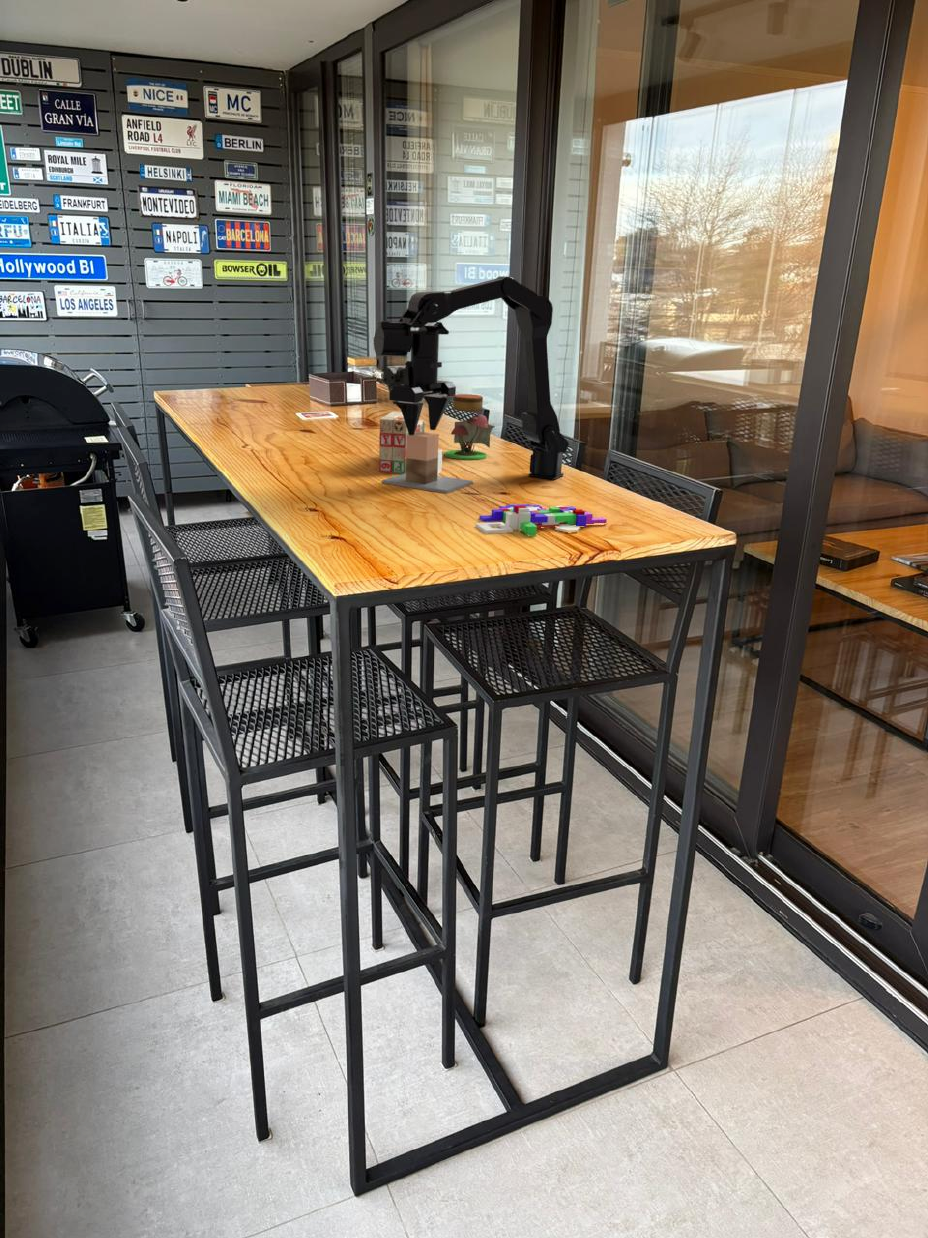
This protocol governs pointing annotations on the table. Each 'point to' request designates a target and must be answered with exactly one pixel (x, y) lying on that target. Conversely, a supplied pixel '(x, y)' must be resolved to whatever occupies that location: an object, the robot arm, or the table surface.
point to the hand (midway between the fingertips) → (422, 432)
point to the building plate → (439, 486)
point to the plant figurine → (470, 428)
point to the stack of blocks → (394, 442)
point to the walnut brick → (421, 470)
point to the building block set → (536, 519)
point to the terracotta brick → (422, 446)
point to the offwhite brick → (439, 461)
